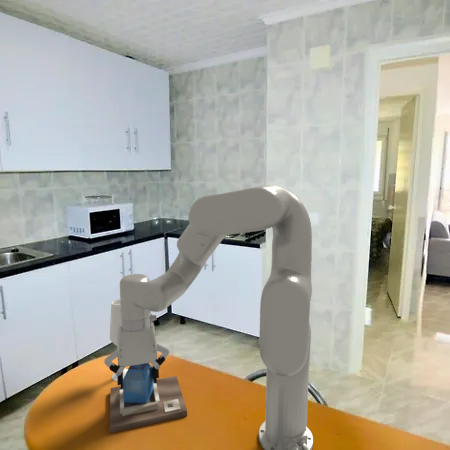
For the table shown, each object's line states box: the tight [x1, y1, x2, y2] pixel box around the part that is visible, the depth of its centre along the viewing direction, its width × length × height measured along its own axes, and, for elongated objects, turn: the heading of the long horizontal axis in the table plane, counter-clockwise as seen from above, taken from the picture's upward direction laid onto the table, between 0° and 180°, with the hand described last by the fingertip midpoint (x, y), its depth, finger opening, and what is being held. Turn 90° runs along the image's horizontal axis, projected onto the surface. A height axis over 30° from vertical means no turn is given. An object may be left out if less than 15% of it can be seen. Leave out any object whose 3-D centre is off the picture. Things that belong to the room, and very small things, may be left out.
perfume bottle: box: [123, 363, 154, 403], centre depth 89 cm, size 6×6×12 cm
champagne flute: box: [109, 298, 129, 382], centre depth 102 cm, size 7×7×24 cm
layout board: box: [109, 375, 188, 434], centre depth 90 cm, size 16×19×3 cm
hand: (138, 383), depth 89 cm, fingers open, 8 cm apart
